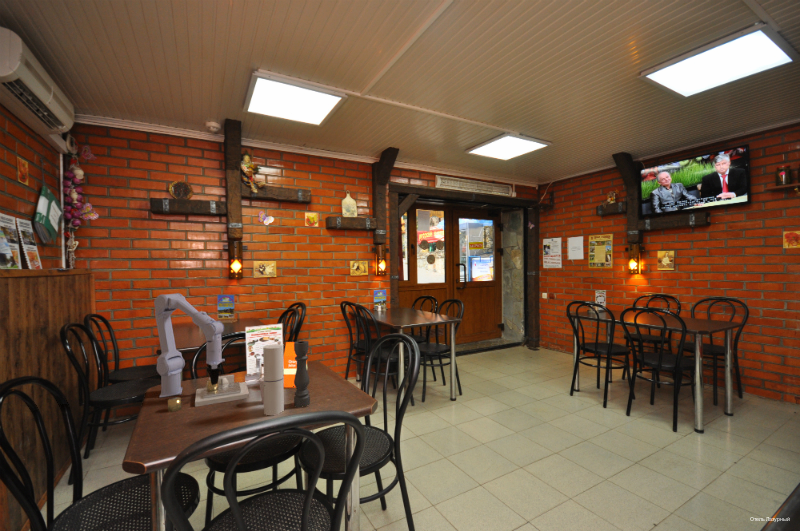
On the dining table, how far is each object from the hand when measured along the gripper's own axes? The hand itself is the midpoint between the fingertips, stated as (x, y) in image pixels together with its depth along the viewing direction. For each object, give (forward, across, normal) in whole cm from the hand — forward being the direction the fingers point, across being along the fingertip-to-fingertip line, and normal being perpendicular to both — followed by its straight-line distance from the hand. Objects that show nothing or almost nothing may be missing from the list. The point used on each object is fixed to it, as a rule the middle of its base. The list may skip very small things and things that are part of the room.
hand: (214, 381), depth 155 cm
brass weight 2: (+3, 0, +1) cm, 3 cm away
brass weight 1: (+6, -8, +14) cm, 17 cm away
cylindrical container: (+7, -30, -20) cm, 37 cm away
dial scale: (+6, 0, -3) cm, 7 cm away
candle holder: (+7, -28, -31) cm, 42 cm away
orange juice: (+7, -1, -34) cm, 35 cm away
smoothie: (+7, -18, -19) cm, 27 cm away
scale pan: (+4, 0, -3) cm, 5 cm away
